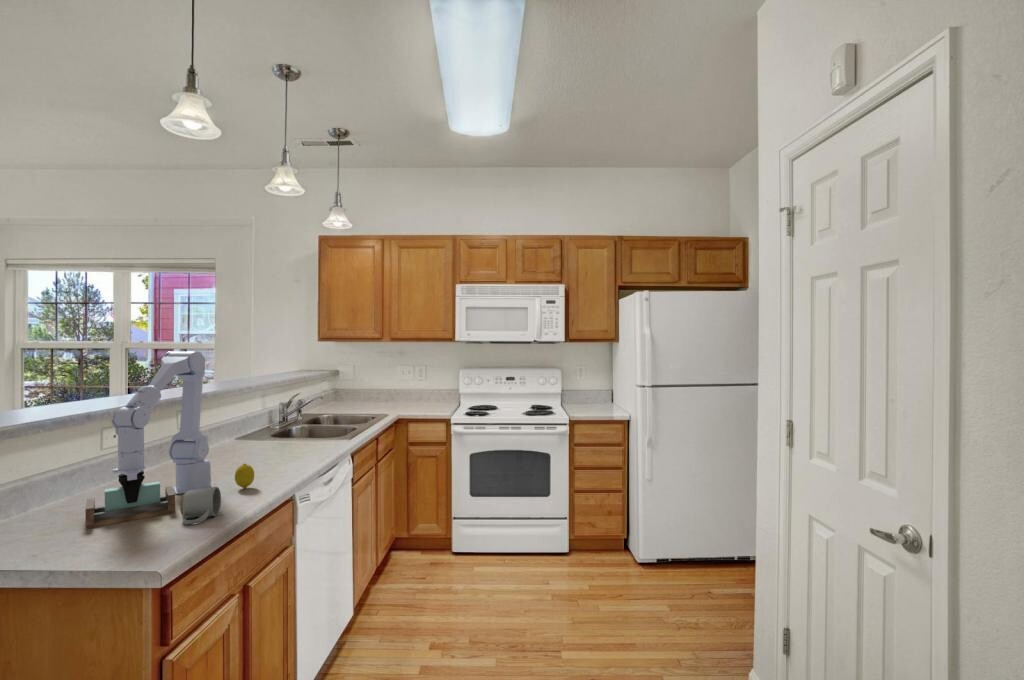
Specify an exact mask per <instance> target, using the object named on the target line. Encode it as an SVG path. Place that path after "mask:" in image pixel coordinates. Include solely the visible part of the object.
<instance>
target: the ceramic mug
mask: <svg viewBox="0 0 1024 680" xmlns="http://www.w3.org/2000/svg"><path fill="white" fill-rule="evenodd" d="M179 504H180V505H179V509H180V510H179V511H180V514H181V517H182V521H183V522H182V523H183V524H185V525H187V524H194V523H198V524H200V523H199V522H201V523H203V522H204V521H205V520H206V519H207V518H209V517H211V516H213V517H216V515H217V514H219V513H220V510H221V507H222V493H221V490H220V488H219V486H211V487H210V488H204V489H197V490H191V491H187V492H185V493H182V496H181V497H180V503H179ZM217 516H218V515H217ZM195 517H198V518H195ZM188 519H189V520H188ZM191 519H192V520H191Z"/></svg>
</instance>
